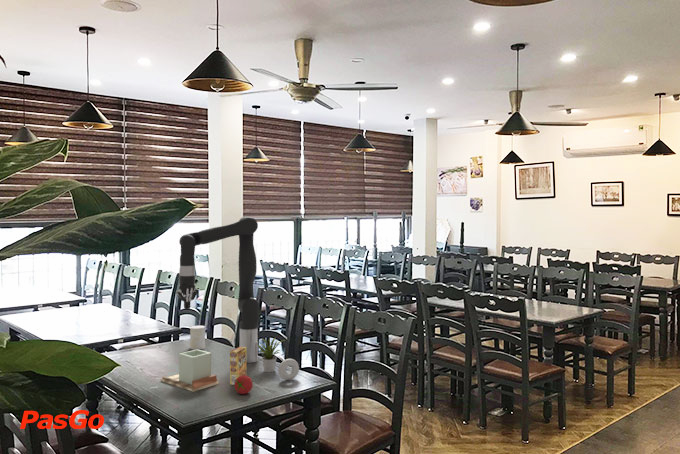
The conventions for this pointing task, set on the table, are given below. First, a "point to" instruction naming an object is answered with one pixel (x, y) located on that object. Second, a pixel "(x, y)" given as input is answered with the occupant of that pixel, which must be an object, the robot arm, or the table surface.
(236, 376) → the candy box
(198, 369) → the square container
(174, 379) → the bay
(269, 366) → the house plant
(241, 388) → the tomato
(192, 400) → the table surface
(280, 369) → the donut
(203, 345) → the cup
